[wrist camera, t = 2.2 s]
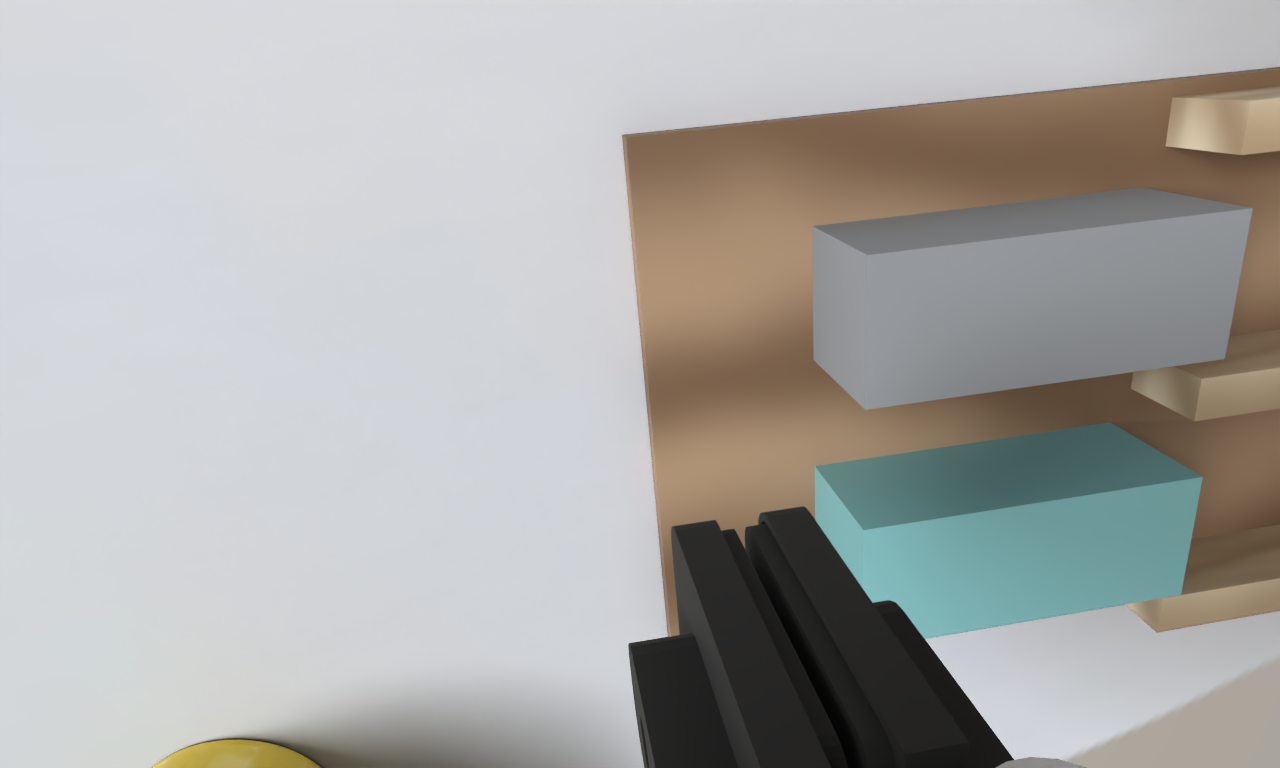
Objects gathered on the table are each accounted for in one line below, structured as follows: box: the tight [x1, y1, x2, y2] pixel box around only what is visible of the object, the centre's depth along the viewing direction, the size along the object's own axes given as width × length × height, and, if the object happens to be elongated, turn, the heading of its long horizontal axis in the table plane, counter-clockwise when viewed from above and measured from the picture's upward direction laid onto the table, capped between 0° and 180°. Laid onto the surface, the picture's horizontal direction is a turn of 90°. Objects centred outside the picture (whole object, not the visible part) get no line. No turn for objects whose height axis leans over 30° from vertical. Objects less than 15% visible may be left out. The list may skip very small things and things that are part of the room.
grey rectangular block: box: [812, 187, 1253, 410], centre depth 20 cm, size 4×9×4 cm, turn 95°
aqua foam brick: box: [815, 422, 1203, 639], centre depth 23 cm, size 4×9×4 cm, turn 95°
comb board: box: [622, 67, 1280, 637], centre depth 23 cm, size 15×24×3 cm, turn 95°
